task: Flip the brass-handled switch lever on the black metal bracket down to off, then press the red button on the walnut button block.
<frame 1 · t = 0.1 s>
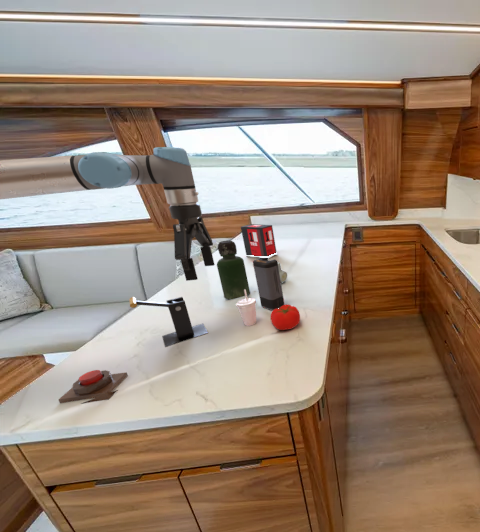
hand: (201, 272, 94), 24 cm above the counter, tool pointing down, fingers open, 13 cm apart
switch bracket: (186, 337, 102), on the counter
electronic device: (273, 306, 123), on the counter
cleaning product box: (262, 256, 194), on the counter
green bottle: (237, 295, 135), on the counter
tomato: (287, 325, 108), on the counter
smoothie: (251, 325, 108), on the counter
red button: (91, 377, 76), point 4 cm above the counter, slide at 0.1 cm
switch lever: (157, 304, 94), point 14 cm above the counter, hinge at 25.0°
button block: (97, 391, 77), on the counter
air freshener: (277, 282, 149), on the counter
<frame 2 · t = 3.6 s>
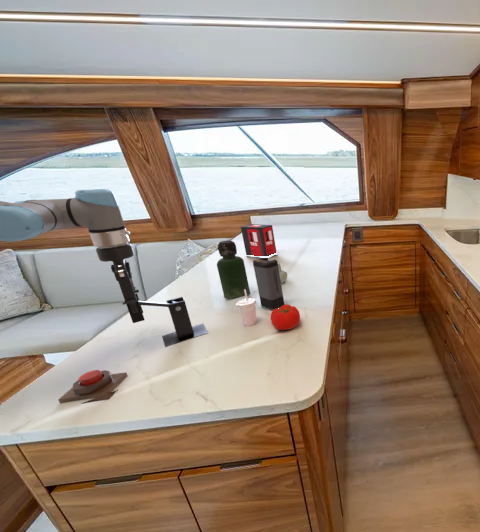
hand: (138, 317, 92), 12 cm above the counter, tool pointing down, fingers closed on switch lever, 6 cm apart
switch lever: (157, 304, 94), point 14 cm above the counter, hinge at 25.0°, touching gripper
everything else where it was.
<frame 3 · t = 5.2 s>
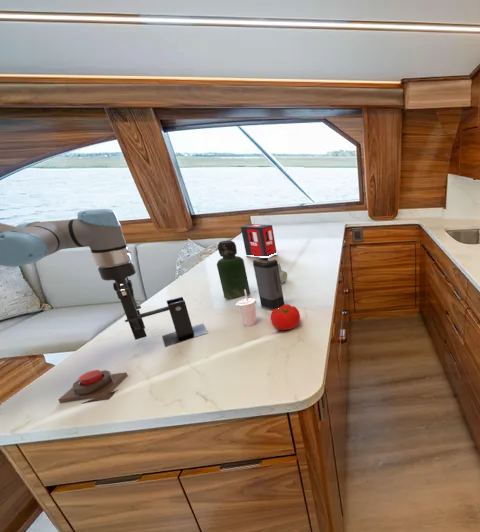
hand: (140, 333, 93), 6 cm above the counter, tool pointing down, fingers closed on switch lever, 6 cm apart
switch lever: (157, 311, 95), point 12 cm above the counter, hinge at -1.6°, touching gripper
everything else where it was.
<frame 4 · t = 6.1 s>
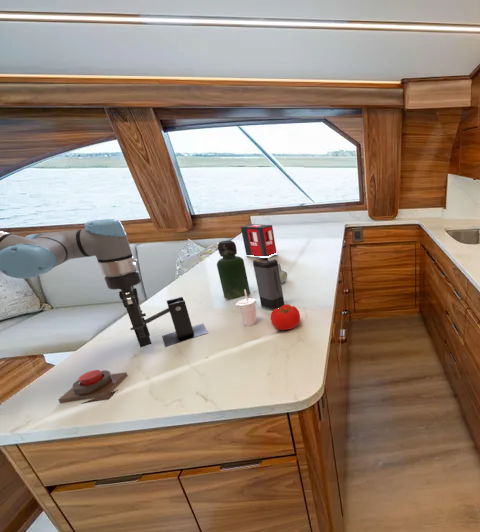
hand: (145, 340, 94), 3 cm above the counter, tool pointing down, fingers closed on switch lever, 6 cm apart
switch lever: (159, 314, 95), point 11 cm above the counter, hinge at -16.3°, touching gripper
everything else where it was.
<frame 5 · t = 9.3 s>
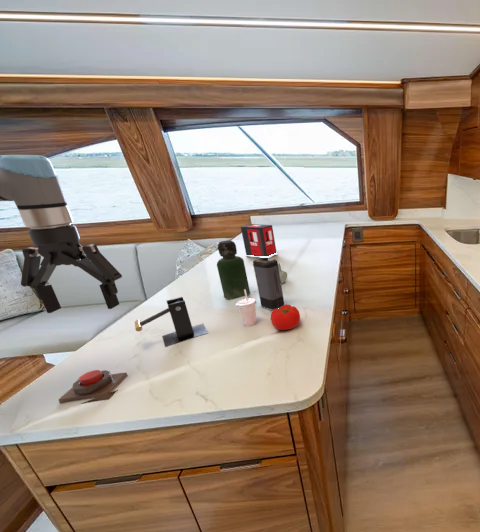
hand: (84, 308, 75), 22 cm above the counter, tool pointing down, fingers open, 13 cm apart
switch lever: (159, 314, 95), point 11 cm above the counter, hinge at -16.4°
everything else where it was.
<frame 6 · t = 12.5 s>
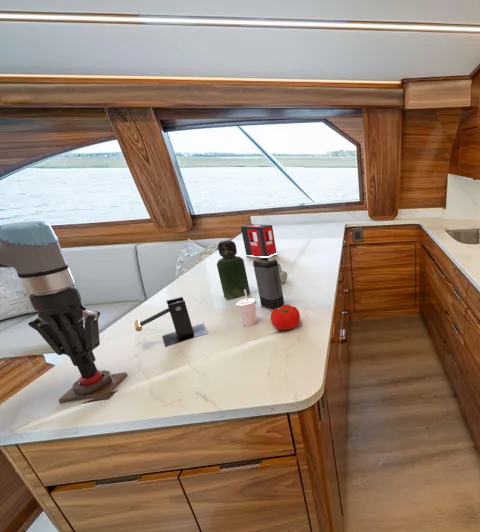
hand: (90, 374, 76), 5 cm above the counter, tool pointing down, fingers closed
red button: (91, 378, 76), point 4 cm above the counter, slide at 0.0 cm, touching gripper
everything else where it was.
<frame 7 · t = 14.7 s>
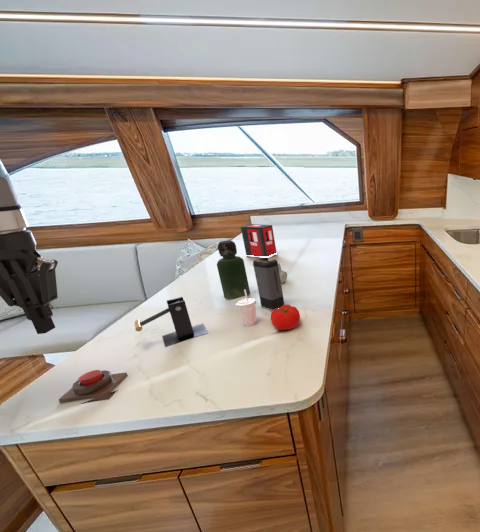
hand: (46, 330, 69), 20 cm above the counter, tool pointing down, fingers closed
red button: (91, 377, 76), point 4 cm above the counter, slide at 0.1 cm
everything else where it was.
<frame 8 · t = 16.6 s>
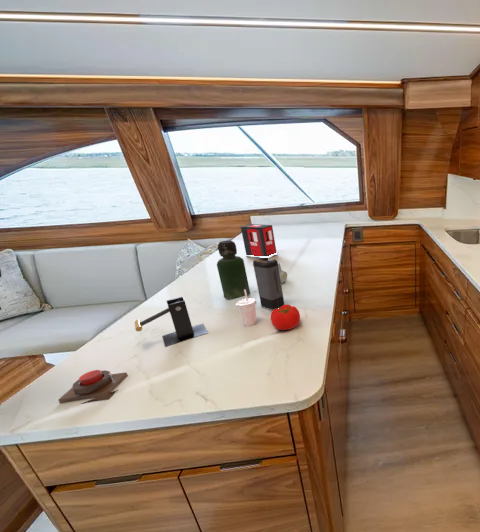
nothing on the counter moved.
at the end: switch lever at -16° (first picture: +25°); red button pushed in 1.0 cm at the most during the clip, back to where it started at the end; red button slide at 0.1 cm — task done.
